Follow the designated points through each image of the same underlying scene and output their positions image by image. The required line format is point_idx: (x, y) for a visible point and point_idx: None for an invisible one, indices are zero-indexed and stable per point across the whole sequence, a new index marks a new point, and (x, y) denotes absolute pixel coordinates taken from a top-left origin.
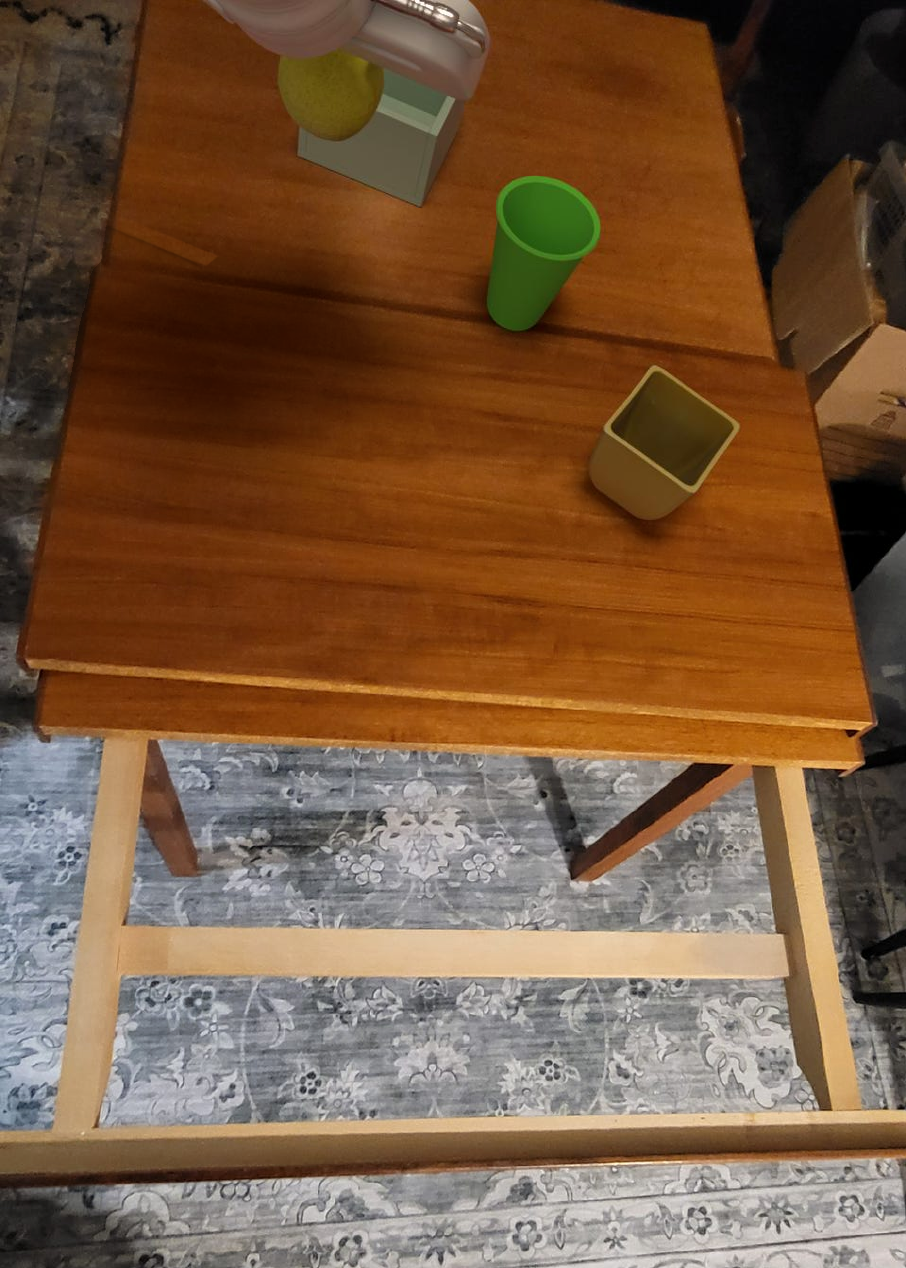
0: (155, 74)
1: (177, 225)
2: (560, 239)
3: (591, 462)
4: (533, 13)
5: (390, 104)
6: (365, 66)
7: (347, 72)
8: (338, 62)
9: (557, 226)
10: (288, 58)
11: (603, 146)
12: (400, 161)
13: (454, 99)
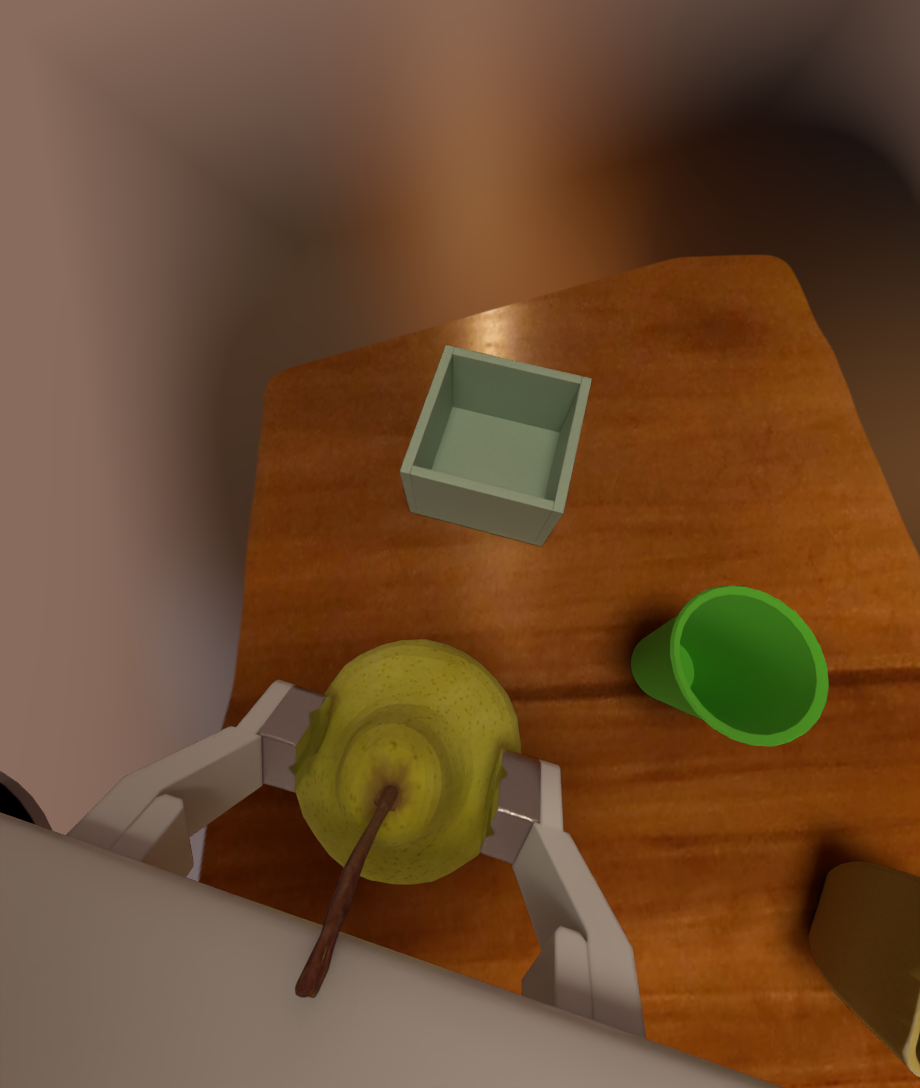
0: (269, 448)
1: (294, 637)
2: (735, 629)
3: (838, 996)
4: (619, 277)
5: (496, 426)
6: (480, 809)
7: (438, 859)
8: (412, 857)
9: (733, 618)
10: (303, 802)
11: (717, 415)
12: (518, 523)
13: (575, 451)
